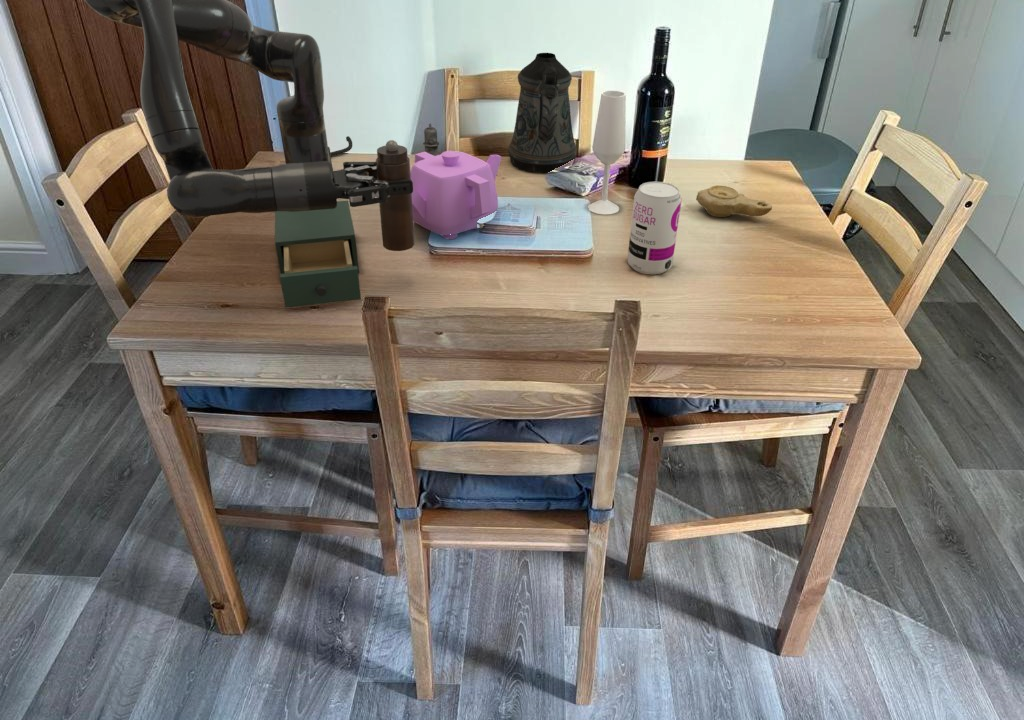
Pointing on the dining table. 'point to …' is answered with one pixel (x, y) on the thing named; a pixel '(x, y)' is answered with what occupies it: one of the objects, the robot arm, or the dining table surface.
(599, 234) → the dining table surface
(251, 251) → the dining table surface
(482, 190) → the teapot
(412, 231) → the pepper mill
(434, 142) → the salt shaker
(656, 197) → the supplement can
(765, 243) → the dining table surface
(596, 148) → the champagne flute
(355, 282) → the drawer
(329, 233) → the cabinet
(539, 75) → the dark engraved coffee pot
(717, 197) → the oil lamp
